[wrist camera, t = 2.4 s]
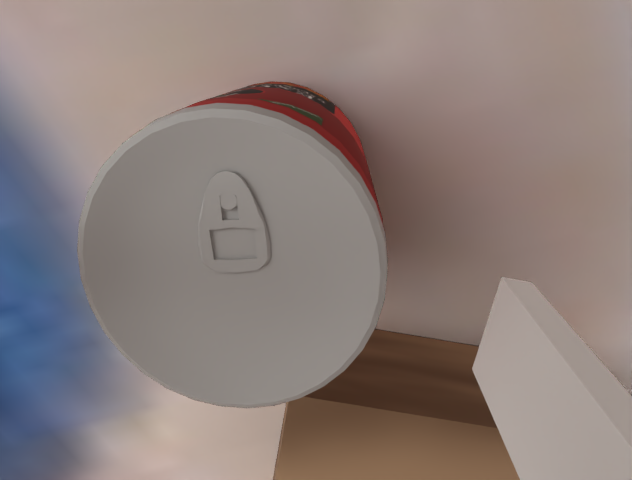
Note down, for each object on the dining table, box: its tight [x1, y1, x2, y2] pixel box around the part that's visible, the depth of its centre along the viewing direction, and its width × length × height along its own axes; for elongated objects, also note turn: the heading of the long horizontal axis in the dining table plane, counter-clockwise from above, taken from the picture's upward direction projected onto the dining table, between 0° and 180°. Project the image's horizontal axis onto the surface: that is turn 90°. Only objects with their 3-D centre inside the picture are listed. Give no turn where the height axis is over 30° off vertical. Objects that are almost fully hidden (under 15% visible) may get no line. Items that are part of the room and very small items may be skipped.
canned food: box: [77, 82, 388, 408], centre depth 17 cm, size 8×8×11 cm
